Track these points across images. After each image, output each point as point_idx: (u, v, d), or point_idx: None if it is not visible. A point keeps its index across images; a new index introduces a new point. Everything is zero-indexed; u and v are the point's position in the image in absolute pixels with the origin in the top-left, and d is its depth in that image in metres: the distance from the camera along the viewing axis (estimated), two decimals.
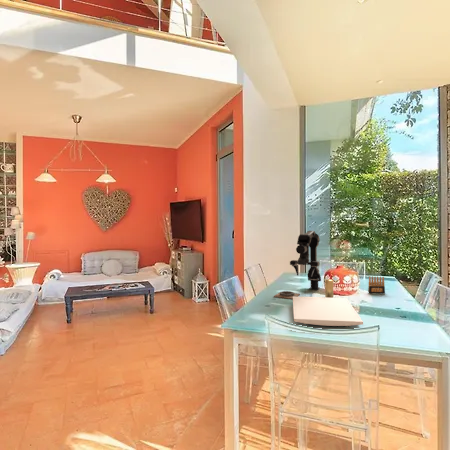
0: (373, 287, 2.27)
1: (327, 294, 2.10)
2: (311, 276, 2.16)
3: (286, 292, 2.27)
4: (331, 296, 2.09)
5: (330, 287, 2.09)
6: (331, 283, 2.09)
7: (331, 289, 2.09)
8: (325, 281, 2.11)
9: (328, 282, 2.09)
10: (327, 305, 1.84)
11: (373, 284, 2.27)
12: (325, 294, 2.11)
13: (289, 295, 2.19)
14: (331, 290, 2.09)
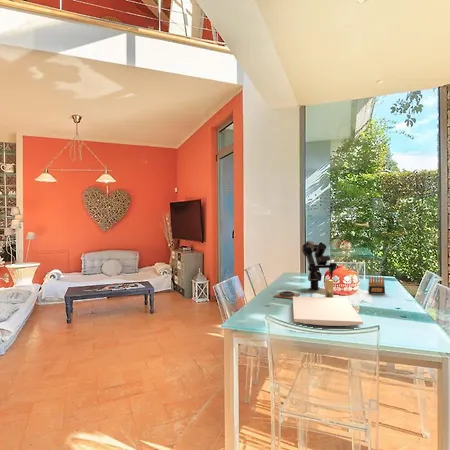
0: (373, 287, 2.27)
1: (327, 294, 2.10)
2: None
3: (286, 292, 2.27)
4: (331, 296, 2.09)
5: (330, 287, 2.09)
6: (331, 283, 2.09)
7: (331, 289, 2.09)
8: (325, 281, 2.11)
9: (328, 282, 2.09)
10: (327, 305, 1.84)
11: (373, 284, 2.27)
12: (325, 294, 2.11)
13: (289, 295, 2.19)
14: (331, 290, 2.09)
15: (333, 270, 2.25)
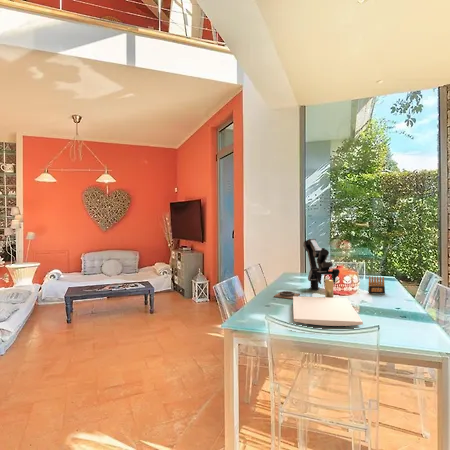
0: (373, 287, 2.27)
1: (327, 294, 2.10)
2: None
3: (286, 292, 2.27)
4: (331, 296, 2.09)
5: (330, 287, 2.09)
6: (331, 283, 2.09)
7: (331, 289, 2.09)
8: (325, 281, 2.11)
9: (328, 282, 2.09)
10: (327, 305, 1.84)
11: (373, 284, 2.27)
12: (325, 294, 2.11)
13: (289, 295, 2.19)
14: (331, 290, 2.09)
15: (336, 276, 2.20)
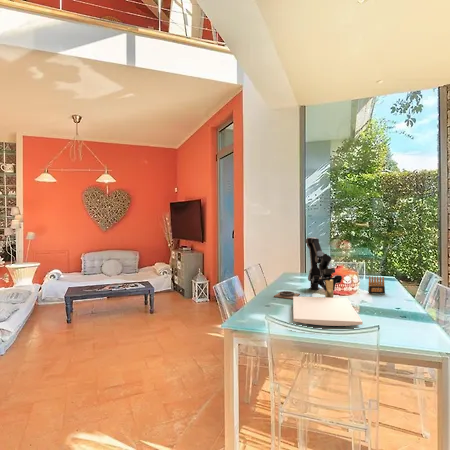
0: (373, 287, 2.27)
1: (327, 294, 2.10)
2: (334, 289, 2.10)
3: (286, 292, 2.27)
4: (331, 296, 2.09)
5: (330, 287, 2.09)
6: (331, 283, 2.09)
7: (331, 289, 2.09)
8: (325, 281, 2.11)
9: (328, 282, 2.09)
10: (327, 305, 1.84)
11: (373, 284, 2.27)
12: (325, 294, 2.11)
13: (289, 295, 2.19)
14: (331, 290, 2.09)
15: (335, 283, 2.16)
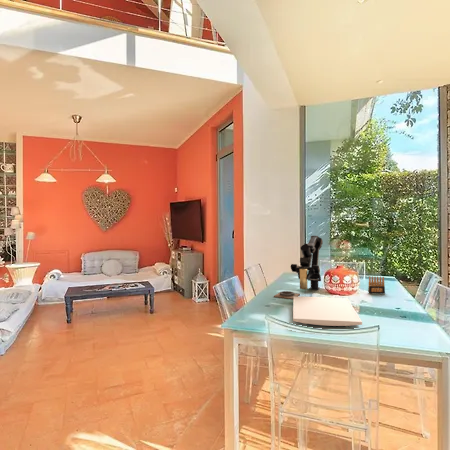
0: (373, 287, 2.27)
1: (300, 282, 2.15)
2: (307, 278, 2.12)
3: (286, 292, 2.27)
4: (303, 284, 2.13)
5: (302, 275, 2.13)
6: (303, 272, 2.13)
7: (303, 278, 2.13)
8: None
9: (300, 270, 2.14)
10: (327, 305, 1.84)
11: (373, 284, 2.27)
12: None
13: (289, 295, 2.19)
14: (303, 279, 2.13)
15: (313, 273, 2.16)
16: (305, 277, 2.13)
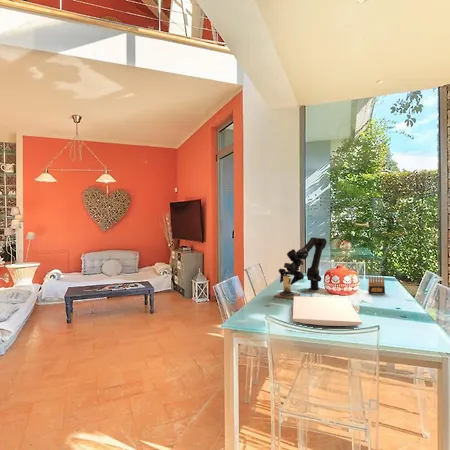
0: (373, 287, 2.27)
1: (283, 288, 2.24)
2: None
3: None
4: (285, 291, 2.22)
5: (284, 282, 2.22)
6: (285, 279, 2.21)
7: (285, 284, 2.21)
8: None
9: (283, 277, 2.23)
10: (327, 305, 1.84)
11: (373, 284, 2.27)
12: None
13: (289, 295, 2.19)
14: (285, 285, 2.21)
15: (300, 279, 2.20)
16: (287, 284, 2.21)
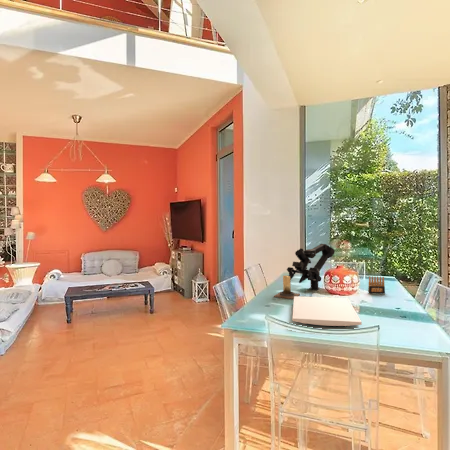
0: (373, 287, 2.27)
1: (283, 288, 2.24)
2: (299, 282, 2.25)
3: None
4: (285, 291, 2.22)
5: (284, 282, 2.22)
6: (285, 279, 2.21)
7: (285, 284, 2.22)
8: None
9: (283, 277, 2.23)
10: (327, 305, 1.84)
11: (373, 284, 2.27)
12: None
13: (289, 295, 2.19)
14: (285, 285, 2.22)
15: (308, 277, 2.26)
16: (287, 284, 2.21)
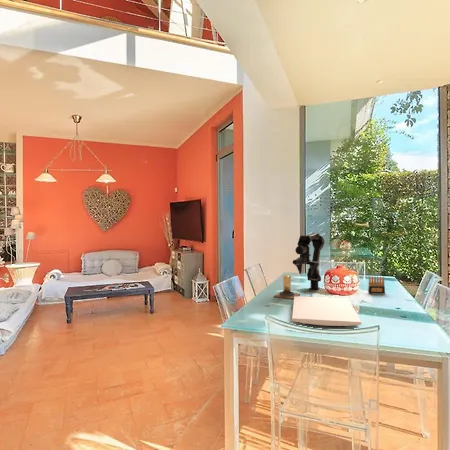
0: (373, 287, 2.27)
1: (283, 288, 2.24)
2: (310, 275, 2.27)
3: None
4: (285, 291, 2.22)
5: (284, 282, 2.22)
6: (285, 279, 2.21)
7: (285, 284, 2.22)
8: None
9: (283, 277, 2.23)
10: (327, 305, 1.84)
11: (373, 284, 2.27)
12: None
13: (289, 295, 2.19)
14: (285, 285, 2.22)
15: (316, 266, 2.26)
16: (287, 284, 2.21)
